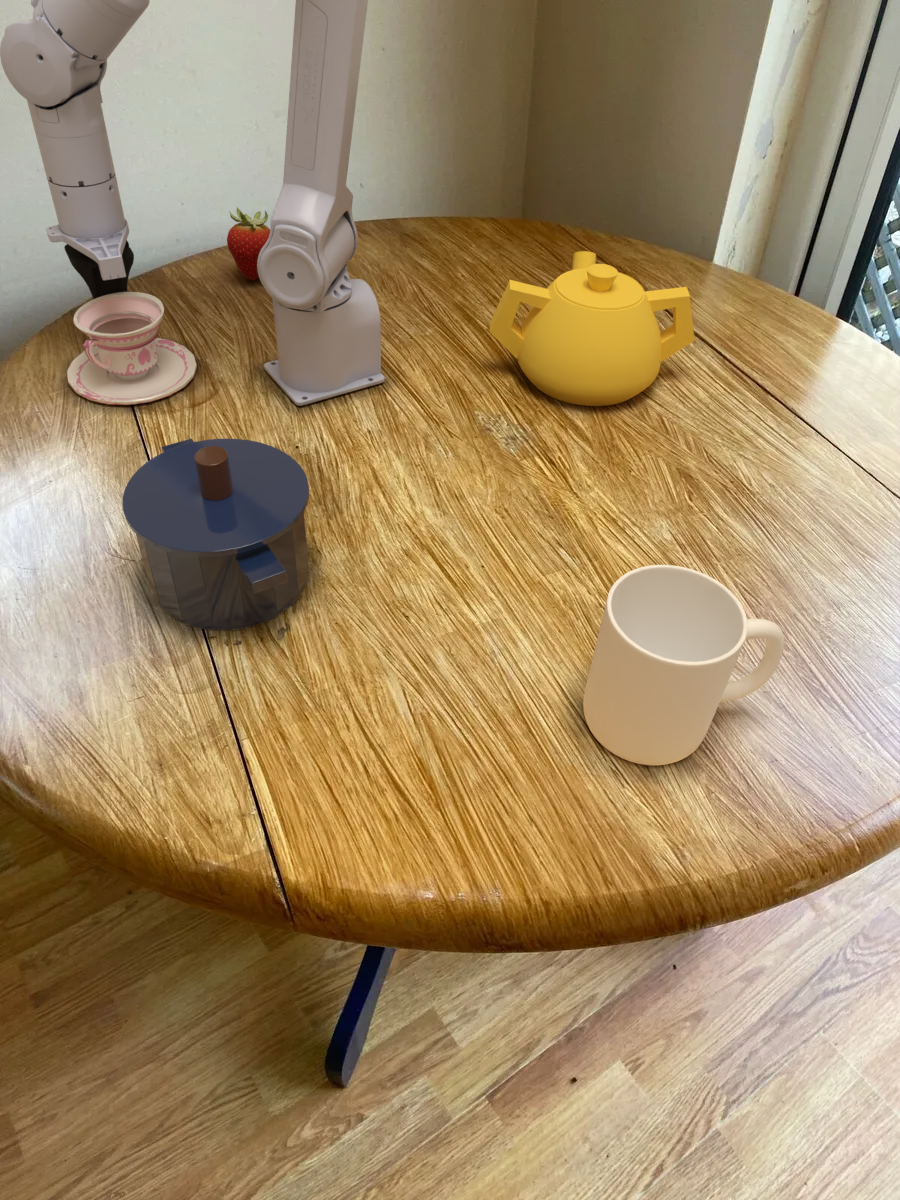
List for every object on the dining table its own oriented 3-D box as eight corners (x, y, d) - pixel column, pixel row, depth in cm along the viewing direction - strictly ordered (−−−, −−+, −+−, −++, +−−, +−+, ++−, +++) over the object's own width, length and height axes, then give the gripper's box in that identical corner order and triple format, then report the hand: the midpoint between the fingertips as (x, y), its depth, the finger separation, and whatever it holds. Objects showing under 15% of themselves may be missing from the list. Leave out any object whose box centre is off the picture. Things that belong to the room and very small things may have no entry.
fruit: (284, 272, 104) (278, 202, 98) (267, 293, 100) (260, 221, 95) (242, 266, 105) (234, 195, 99) (224, 286, 101) (214, 214, 95)
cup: (569, 673, 63) (593, 566, 56) (734, 664, 64) (778, 559, 57) (596, 774, 57) (626, 668, 50) (777, 761, 58) (831, 657, 51)
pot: (257, 490, 76) (247, 414, 70) (352, 618, 66) (348, 540, 60) (119, 534, 71) (97, 456, 66) (199, 679, 61) (180, 600, 56)
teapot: (660, 322, 100) (683, 222, 92) (697, 416, 87) (728, 308, 79) (479, 317, 99) (487, 215, 91) (490, 411, 86) (500, 301, 78)
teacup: (125, 330, 93) (112, 272, 89) (222, 361, 90) (213, 302, 85) (40, 385, 85) (21, 324, 81) (143, 421, 82) (129, 360, 78)
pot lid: (265, 433, 70) (260, 386, 67) (340, 526, 62) (338, 478, 59) (101, 481, 65) (88, 433, 62) (162, 588, 57) (150, 539, 54)
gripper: (20, 152, 83) (58, 293, 92) (48, 212, 74) (87, 362, 83) (99, 143, 85) (129, 281, 95) (136, 201, 76) (164, 347, 86)
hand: (114, 318), depth 89 cm, fingers closed
